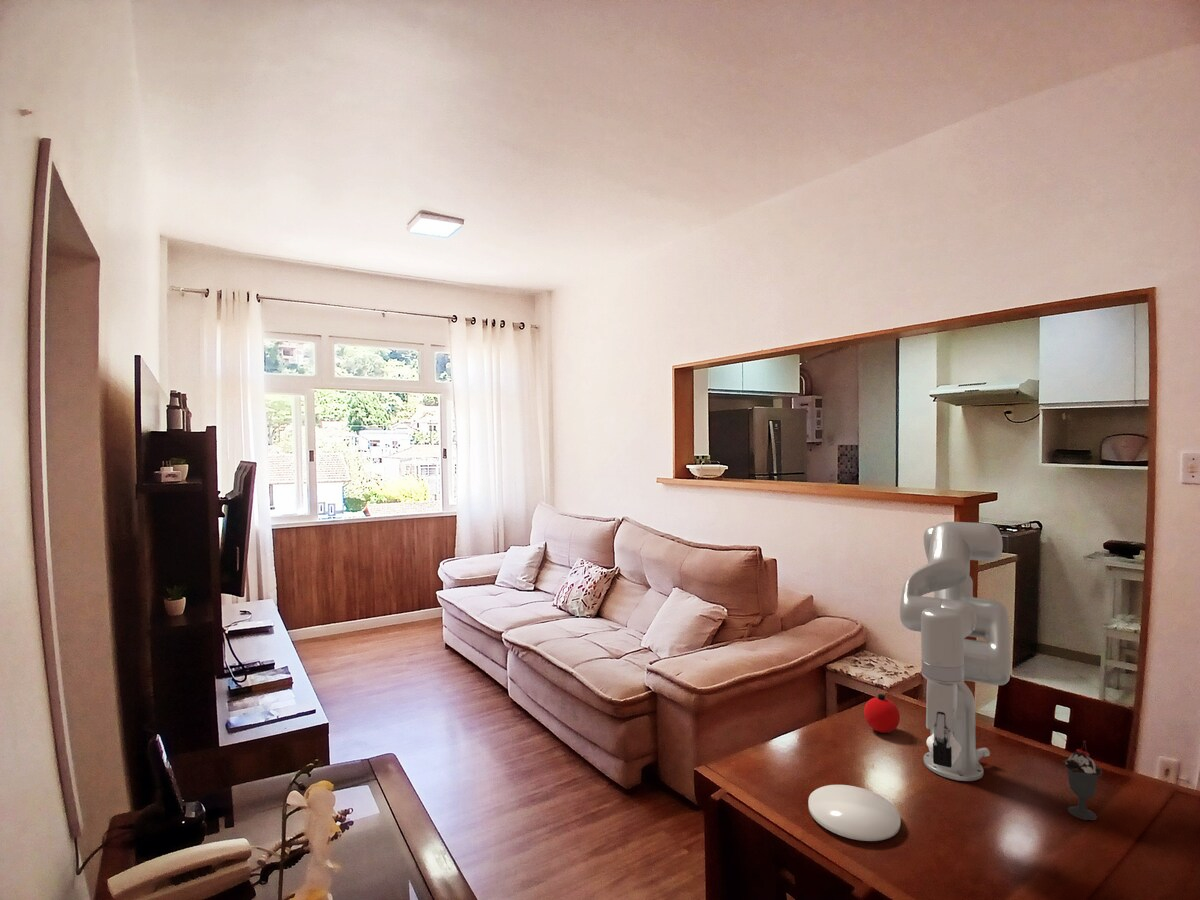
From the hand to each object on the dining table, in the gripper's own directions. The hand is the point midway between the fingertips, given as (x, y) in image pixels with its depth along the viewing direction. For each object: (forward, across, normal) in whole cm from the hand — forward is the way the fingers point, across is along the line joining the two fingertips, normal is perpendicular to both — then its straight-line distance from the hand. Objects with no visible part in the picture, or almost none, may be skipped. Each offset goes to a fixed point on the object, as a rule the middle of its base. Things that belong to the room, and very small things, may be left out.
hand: (943, 756), depth 125 cm
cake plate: (+15, +6, -17) cm, 23 cm away
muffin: (+1, 0, 0) cm, 1 cm away
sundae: (+16, -21, +24) cm, 35 cm away
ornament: (+16, -39, -18) cm, 46 cm away
